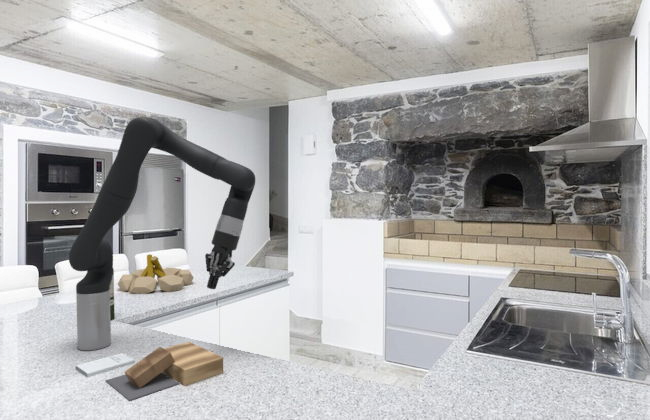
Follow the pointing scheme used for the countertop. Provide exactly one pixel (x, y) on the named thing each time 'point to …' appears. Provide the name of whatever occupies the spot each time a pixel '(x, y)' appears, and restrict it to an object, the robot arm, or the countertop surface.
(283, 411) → the countertop surface
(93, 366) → the external hard drive
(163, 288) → the campfire
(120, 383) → the mat
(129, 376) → the brown wood brick
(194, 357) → the wooden block
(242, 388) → the countertop surface
